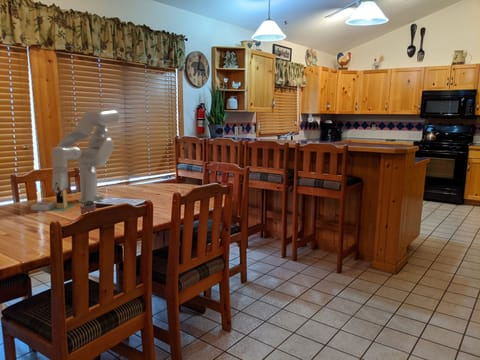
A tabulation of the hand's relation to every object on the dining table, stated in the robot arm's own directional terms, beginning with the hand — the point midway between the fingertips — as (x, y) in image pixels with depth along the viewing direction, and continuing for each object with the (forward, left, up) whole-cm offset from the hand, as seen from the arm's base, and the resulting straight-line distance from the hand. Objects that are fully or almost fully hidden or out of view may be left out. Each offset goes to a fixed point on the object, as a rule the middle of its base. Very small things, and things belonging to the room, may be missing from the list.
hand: (61, 201), depth 210 cm
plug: (0, 0, -3) cm, 3 cm away
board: (+5, +1, -4) cm, 6 cm away
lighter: (-22, +20, -4) cm, 30 cm away
